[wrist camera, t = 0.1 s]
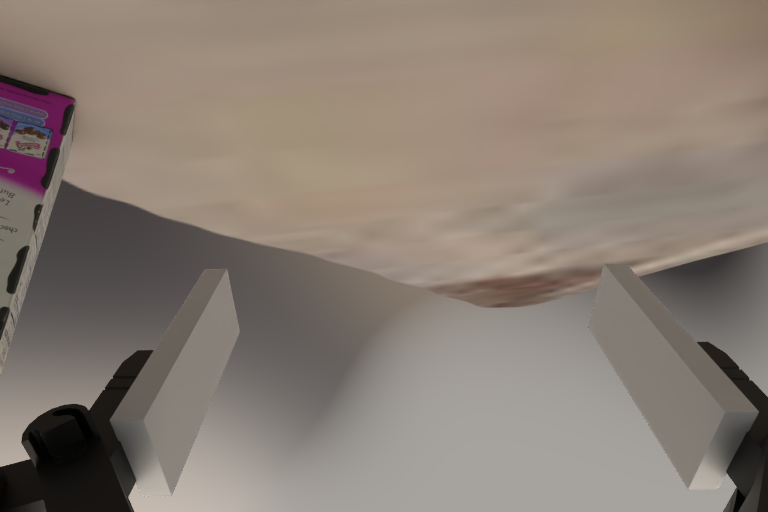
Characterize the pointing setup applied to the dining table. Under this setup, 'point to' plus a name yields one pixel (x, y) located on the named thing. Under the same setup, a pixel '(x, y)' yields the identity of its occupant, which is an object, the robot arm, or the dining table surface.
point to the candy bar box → (27, 186)
